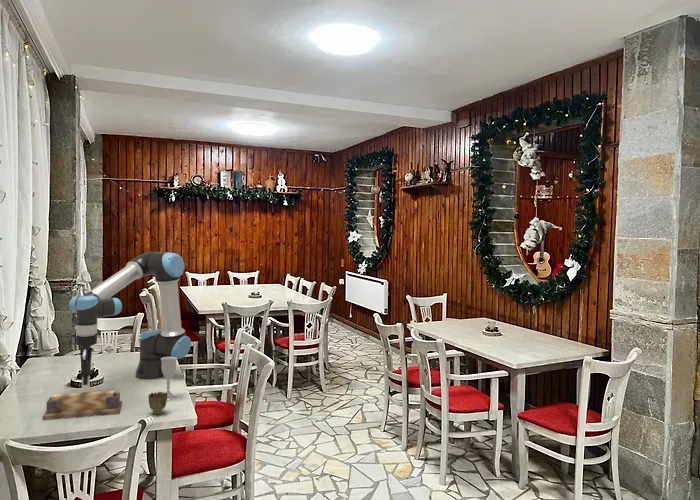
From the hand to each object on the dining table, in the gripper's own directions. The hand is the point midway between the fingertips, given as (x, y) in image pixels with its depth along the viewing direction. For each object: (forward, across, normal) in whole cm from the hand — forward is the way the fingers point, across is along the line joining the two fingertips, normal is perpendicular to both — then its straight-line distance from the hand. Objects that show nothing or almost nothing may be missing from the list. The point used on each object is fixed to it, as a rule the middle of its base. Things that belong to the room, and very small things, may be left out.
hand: (85, 391), depth 203 cm
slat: (+7, +1, -1) cm, 7 cm away
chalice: (+8, -8, +32) cm, 34 cm away
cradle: (+8, +1, 0) cm, 8 cm away
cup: (+8, +10, +28) cm, 31 cm away
